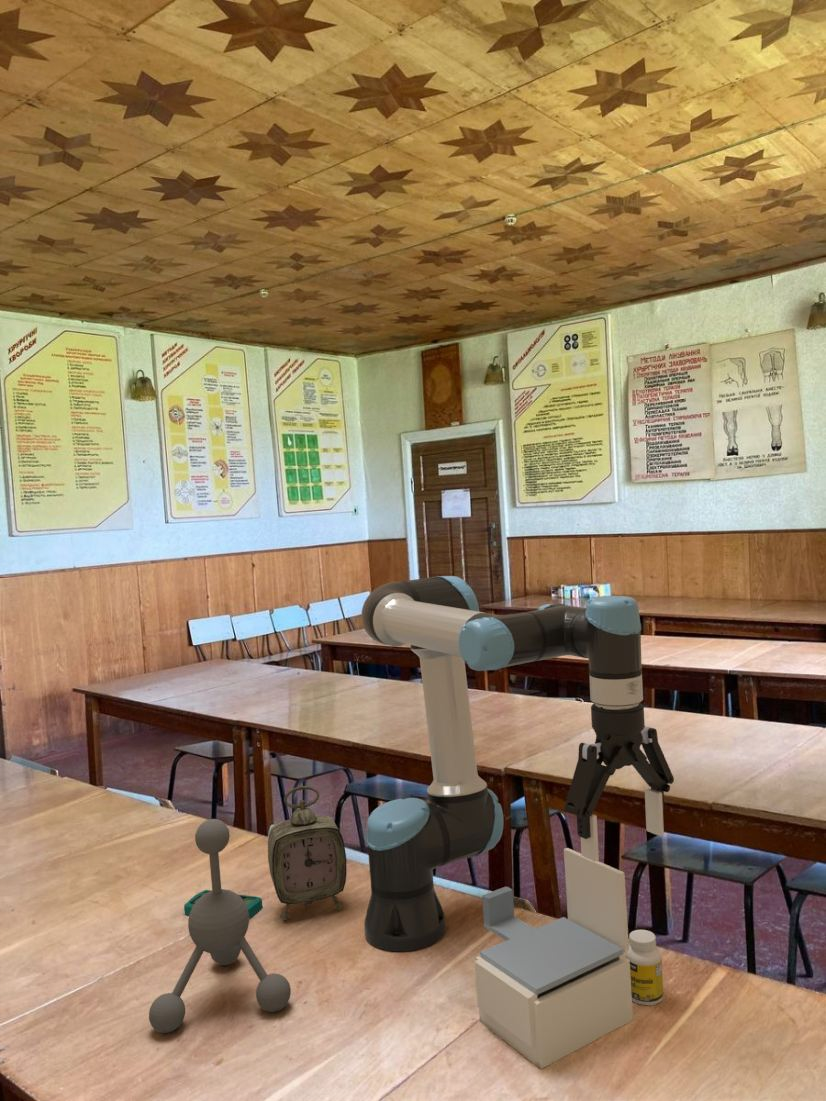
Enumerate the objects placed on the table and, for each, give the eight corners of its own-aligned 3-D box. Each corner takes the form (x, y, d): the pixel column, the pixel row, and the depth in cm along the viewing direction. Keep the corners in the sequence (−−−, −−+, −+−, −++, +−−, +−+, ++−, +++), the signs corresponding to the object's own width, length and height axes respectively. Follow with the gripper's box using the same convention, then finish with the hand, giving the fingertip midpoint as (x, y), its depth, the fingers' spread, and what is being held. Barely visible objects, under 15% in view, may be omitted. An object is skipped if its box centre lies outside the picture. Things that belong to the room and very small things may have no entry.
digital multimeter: (204, 900, 180) (203, 886, 179) (264, 909, 174) (263, 895, 173) (181, 917, 173) (180, 902, 173) (243, 926, 167) (242, 911, 167)
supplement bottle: (622, 1000, 133) (618, 938, 133) (636, 983, 138) (632, 923, 137) (655, 1010, 130) (652, 947, 130) (669, 993, 134) (665, 932, 134)
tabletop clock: (276, 926, 165) (266, 798, 164) (270, 906, 174) (261, 785, 172) (350, 911, 169) (341, 786, 168) (341, 892, 178) (332, 773, 176)
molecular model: (116, 1009, 141) (100, 829, 139) (231, 953, 156) (218, 791, 155) (190, 1069, 124) (173, 866, 122) (311, 1000, 139) (297, 819, 138)
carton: (475, 1023, 130) (466, 881, 129) (572, 978, 140) (564, 846, 139) (536, 1071, 118) (526, 915, 117) (636, 1017, 129) (628, 874, 127)
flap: (454, 939, 136) (452, 906, 135) (536, 906, 145) (534, 875, 144) (536, 995, 119) (534, 957, 119) (623, 954, 128) (621, 919, 128)
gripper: (572, 724, 115) (579, 878, 117) (694, 692, 129) (700, 830, 130) (534, 714, 121) (542, 860, 123) (655, 684, 135) (661, 816, 136)
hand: (623, 845), depth 126 cm, fingers open, 13 cm apart
